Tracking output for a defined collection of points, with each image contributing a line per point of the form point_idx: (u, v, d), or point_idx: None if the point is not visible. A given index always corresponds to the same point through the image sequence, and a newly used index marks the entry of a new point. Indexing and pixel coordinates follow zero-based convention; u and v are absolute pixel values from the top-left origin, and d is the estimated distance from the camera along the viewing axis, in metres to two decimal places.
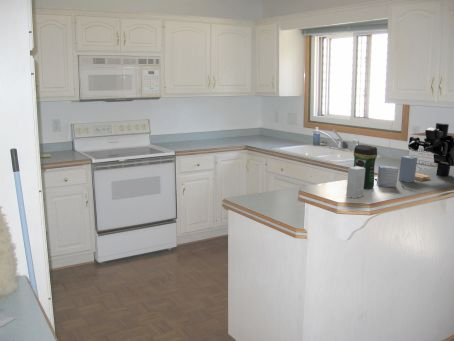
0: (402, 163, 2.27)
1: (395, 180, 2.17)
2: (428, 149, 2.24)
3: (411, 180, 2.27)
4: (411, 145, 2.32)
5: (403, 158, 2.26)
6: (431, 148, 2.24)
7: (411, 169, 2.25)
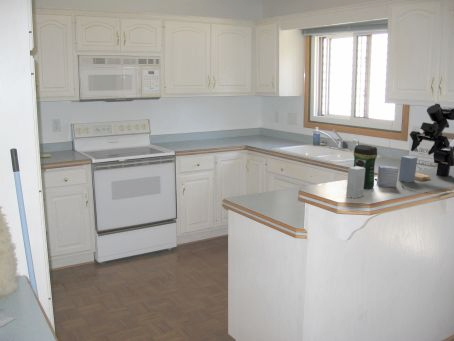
0: (402, 163, 2.27)
1: (395, 180, 2.17)
2: (430, 152, 2.27)
3: (411, 180, 2.27)
4: (414, 147, 2.35)
5: (403, 158, 2.26)
6: (433, 150, 2.27)
7: (411, 169, 2.25)
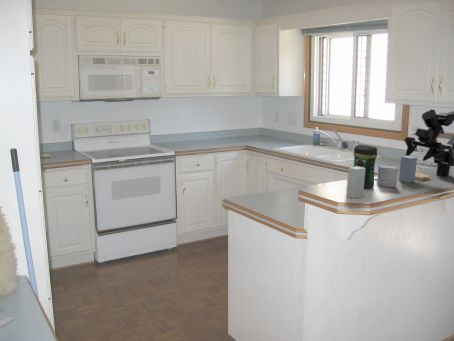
0: (402, 163, 2.27)
1: (395, 180, 2.17)
2: (425, 159, 2.26)
3: (411, 180, 2.27)
4: (408, 153, 2.34)
5: (403, 158, 2.26)
6: (427, 156, 2.25)
7: (411, 169, 2.25)
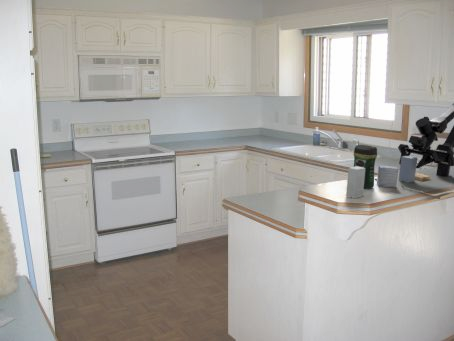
0: (402, 163, 2.27)
1: (395, 180, 2.17)
2: (419, 166, 2.24)
3: (411, 180, 2.27)
4: None
5: (403, 158, 2.26)
6: (421, 163, 2.24)
7: (411, 169, 2.25)
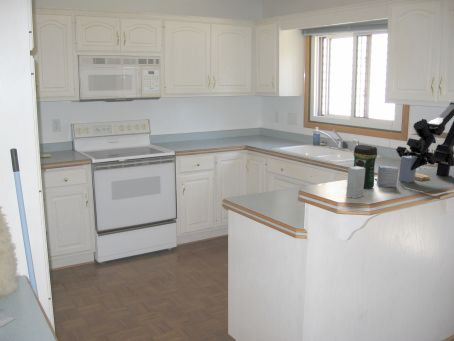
0: (402, 163, 2.27)
1: (395, 180, 2.17)
2: (413, 168, 2.25)
3: (411, 180, 2.27)
4: None
5: (403, 158, 2.26)
6: (415, 165, 2.25)
7: None
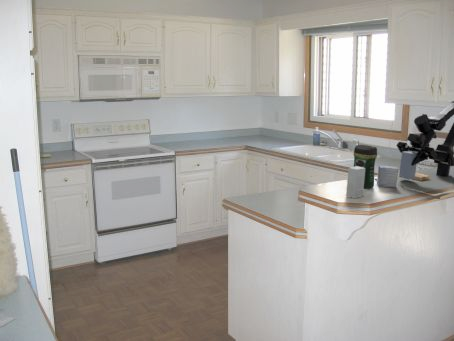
0: (403, 158, 2.27)
1: (395, 180, 2.17)
2: (414, 163, 2.24)
3: (412, 175, 2.27)
4: None
5: (404, 153, 2.26)
6: (416, 161, 2.24)
7: None
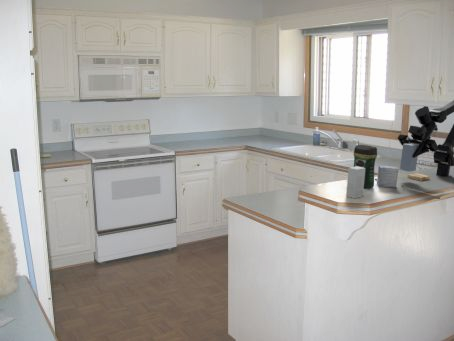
0: (404, 150, 2.26)
1: (395, 180, 2.17)
2: (415, 156, 2.24)
3: (413, 168, 2.26)
4: None
5: (405, 145, 2.25)
6: (417, 153, 2.23)
7: None
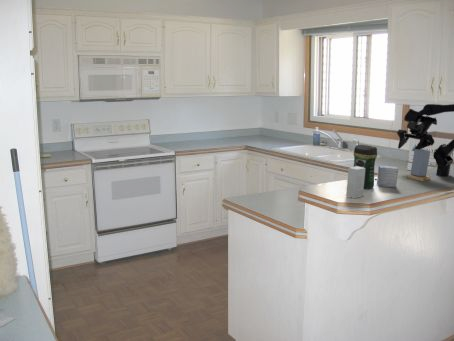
0: (415, 155, 2.34)
1: (395, 180, 2.17)
2: None
3: (422, 173, 2.33)
4: (401, 145, 2.47)
5: (416, 151, 2.33)
6: (418, 147, 2.39)
7: (422, 161, 2.31)
